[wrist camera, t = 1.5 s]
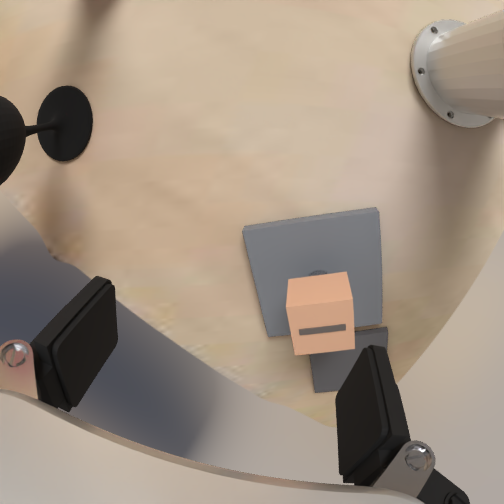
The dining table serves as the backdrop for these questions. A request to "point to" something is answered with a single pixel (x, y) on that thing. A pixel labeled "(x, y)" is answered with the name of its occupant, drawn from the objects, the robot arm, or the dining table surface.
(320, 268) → the stand
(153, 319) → the dining table surface
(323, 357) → the pad
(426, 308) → the dining table surface
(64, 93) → the wine glass
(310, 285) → the tan slotted box
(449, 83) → the robot arm
